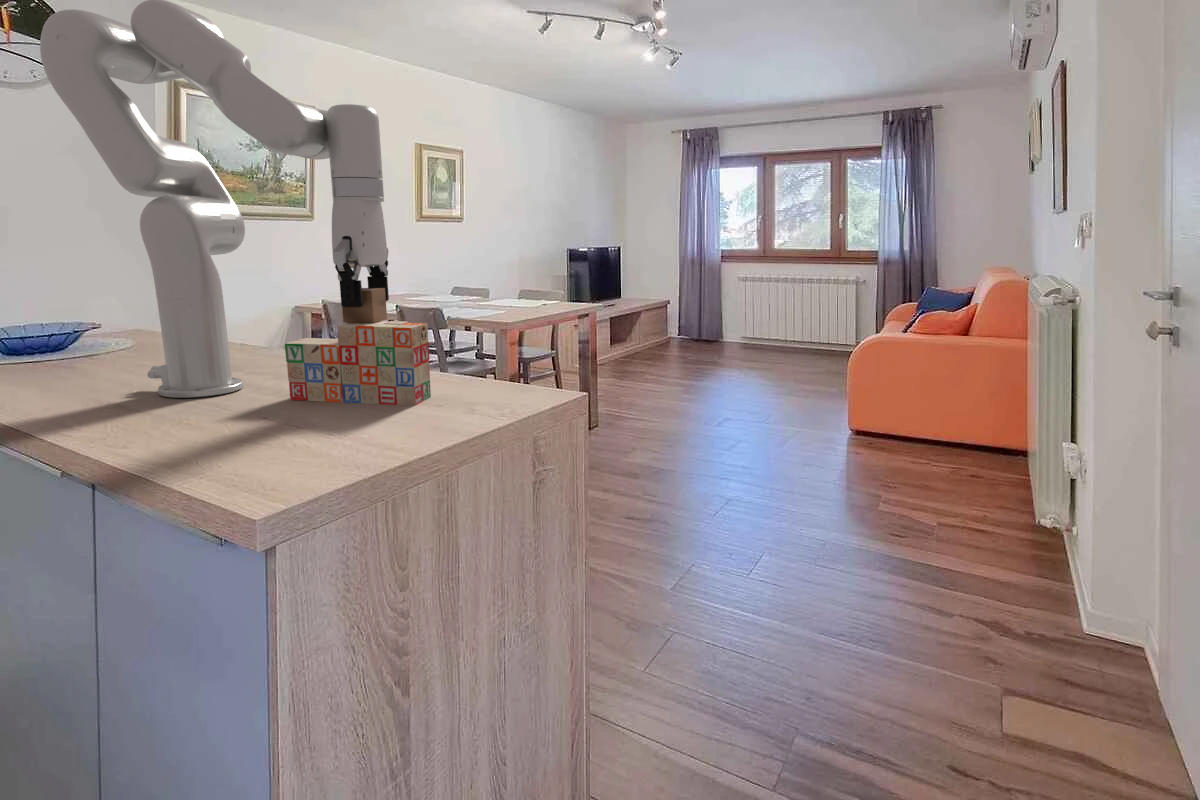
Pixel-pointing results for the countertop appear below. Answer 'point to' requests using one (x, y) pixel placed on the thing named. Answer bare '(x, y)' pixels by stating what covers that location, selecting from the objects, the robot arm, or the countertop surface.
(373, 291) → the walnut cube
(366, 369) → the stack of blocks
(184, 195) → the robot arm
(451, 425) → the countertop surface
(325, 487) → the countertop surface
